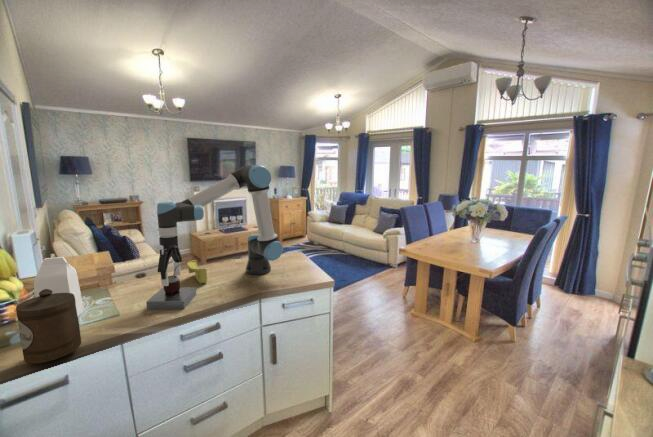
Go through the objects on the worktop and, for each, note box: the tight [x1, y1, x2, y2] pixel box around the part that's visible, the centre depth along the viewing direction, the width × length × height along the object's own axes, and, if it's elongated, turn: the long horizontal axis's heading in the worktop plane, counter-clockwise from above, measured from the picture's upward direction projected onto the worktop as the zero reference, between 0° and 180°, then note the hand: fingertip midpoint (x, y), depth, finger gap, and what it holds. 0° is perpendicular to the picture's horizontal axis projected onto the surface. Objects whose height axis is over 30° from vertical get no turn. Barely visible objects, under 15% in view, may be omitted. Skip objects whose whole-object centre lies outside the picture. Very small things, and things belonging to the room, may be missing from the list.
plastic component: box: [186, 259, 208, 285], centre depth 171 cm, size 20×7×10 cm, turn 37°
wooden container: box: [15, 289, 82, 364], centre depth 103 cm, size 15×15×22 cm
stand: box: [146, 286, 197, 311], centre depth 143 cm, size 16×16×4 cm
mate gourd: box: [162, 263, 181, 296], centre depth 142 cm, size 8×8×15 cm
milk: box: [33, 256, 85, 317], centre depth 125 cm, size 12×12×26 cm
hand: (171, 280), depth 142 cm, fingers open, 13 cm apart
